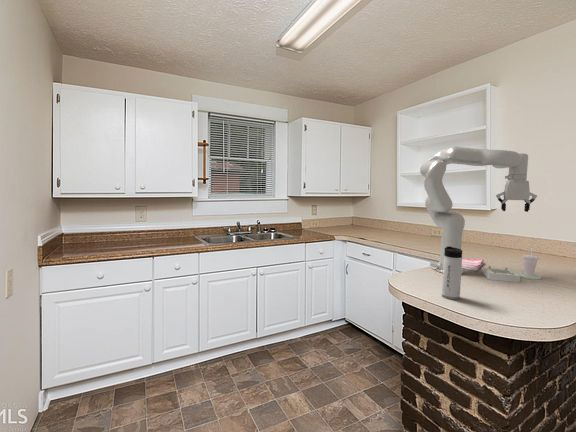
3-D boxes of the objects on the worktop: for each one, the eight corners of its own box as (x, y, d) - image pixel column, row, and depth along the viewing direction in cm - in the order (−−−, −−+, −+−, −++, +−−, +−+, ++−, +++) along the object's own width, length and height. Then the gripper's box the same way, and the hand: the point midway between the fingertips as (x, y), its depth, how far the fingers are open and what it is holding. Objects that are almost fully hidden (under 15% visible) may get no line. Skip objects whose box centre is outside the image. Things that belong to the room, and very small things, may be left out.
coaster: (520, 278, 147) (520, 276, 147) (513, 272, 156) (513, 271, 156) (545, 280, 143) (545, 279, 143) (536, 275, 152) (536, 273, 152)
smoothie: (530, 277, 145) (532, 248, 144) (517, 273, 152) (519, 246, 151) (540, 276, 147) (542, 248, 146) (526, 273, 153) (529, 246, 152)
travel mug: (453, 294, 123) (456, 246, 121) (463, 300, 116) (466, 249, 114) (438, 294, 123) (440, 246, 121) (447, 300, 116) (450, 249, 114)
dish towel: (484, 264, 176) (484, 258, 175) (477, 272, 158) (477, 265, 158) (452, 259, 187) (452, 254, 187) (442, 266, 169) (442, 260, 169)
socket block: (489, 279, 144) (489, 271, 143) (483, 273, 155) (483, 265, 155) (519, 282, 139) (519, 274, 139) (510, 275, 150) (511, 267, 150)
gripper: (499, 177, 153) (497, 211, 154) (541, 177, 146) (538, 212, 148) (495, 178, 160) (493, 210, 161) (535, 178, 153) (532, 211, 155)
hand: (514, 211), depth 154 cm, fingers open, 9 cm apart
